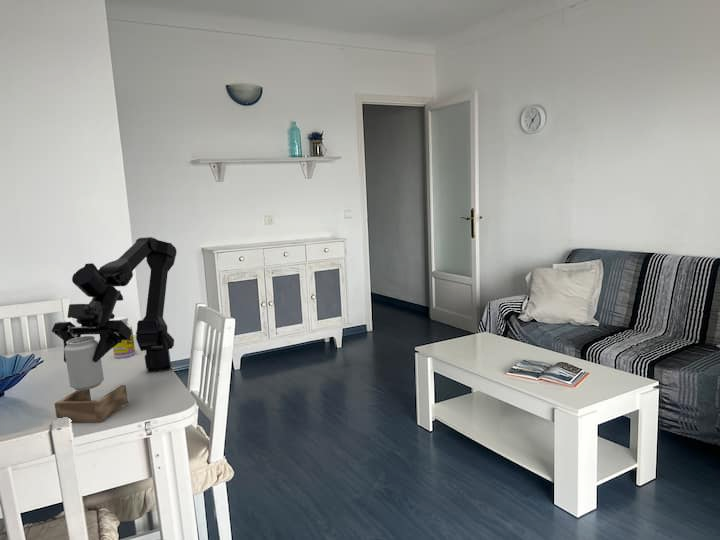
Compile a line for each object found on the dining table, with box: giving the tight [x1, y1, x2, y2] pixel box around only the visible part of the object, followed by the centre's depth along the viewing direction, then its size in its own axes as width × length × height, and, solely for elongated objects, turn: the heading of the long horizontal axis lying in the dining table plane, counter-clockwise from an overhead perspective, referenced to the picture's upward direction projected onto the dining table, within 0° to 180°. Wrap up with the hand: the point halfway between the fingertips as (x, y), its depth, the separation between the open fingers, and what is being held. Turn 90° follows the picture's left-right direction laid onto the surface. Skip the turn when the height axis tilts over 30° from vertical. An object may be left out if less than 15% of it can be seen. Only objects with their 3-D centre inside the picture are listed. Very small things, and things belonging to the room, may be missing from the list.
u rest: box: [54, 384, 129, 423], centre depth 135 cm, size 11×11×5 cm
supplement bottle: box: [111, 316, 136, 359], centre depth 183 cm, size 7×7×13 cm
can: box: [63, 335, 105, 391], centre depth 134 cm, size 8×8×12 cm
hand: (80, 361), depth 133 cm, fingers closed on can, 7 cm apart
